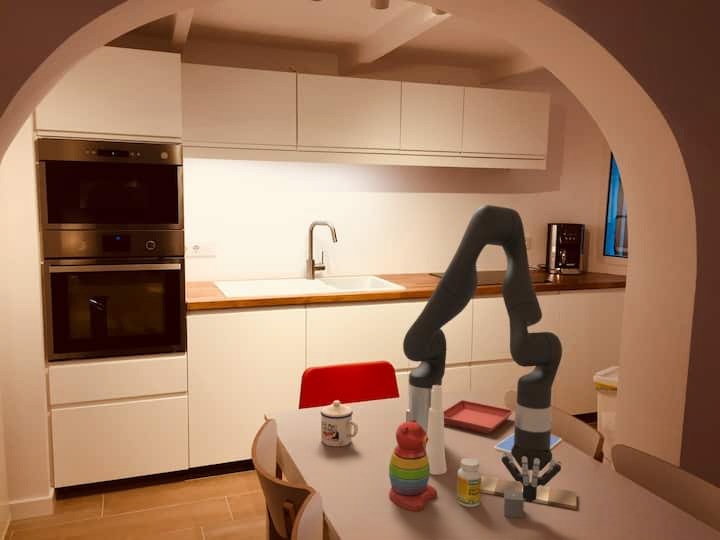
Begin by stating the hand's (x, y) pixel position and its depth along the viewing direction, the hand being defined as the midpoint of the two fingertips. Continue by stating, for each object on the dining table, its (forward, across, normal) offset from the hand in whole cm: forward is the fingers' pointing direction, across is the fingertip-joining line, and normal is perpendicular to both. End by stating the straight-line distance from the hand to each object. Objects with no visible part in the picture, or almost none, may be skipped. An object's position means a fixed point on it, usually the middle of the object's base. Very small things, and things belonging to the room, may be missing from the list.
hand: (529, 500), depth 128 cm
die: (+3, -3, 0) cm, 5 cm away
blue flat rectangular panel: (+4, -3, +40) cm, 40 cm away
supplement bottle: (+4, -13, +1) cm, 14 cm away
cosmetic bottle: (+3, -24, +14) cm, 28 cm away
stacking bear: (+4, -26, -2) cm, 27 cm away
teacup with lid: (+3, -53, +21) cm, 57 cm away
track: (+3, -2, +10) cm, 11 cm away
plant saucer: (+4, -20, +52) cm, 56 cm away
